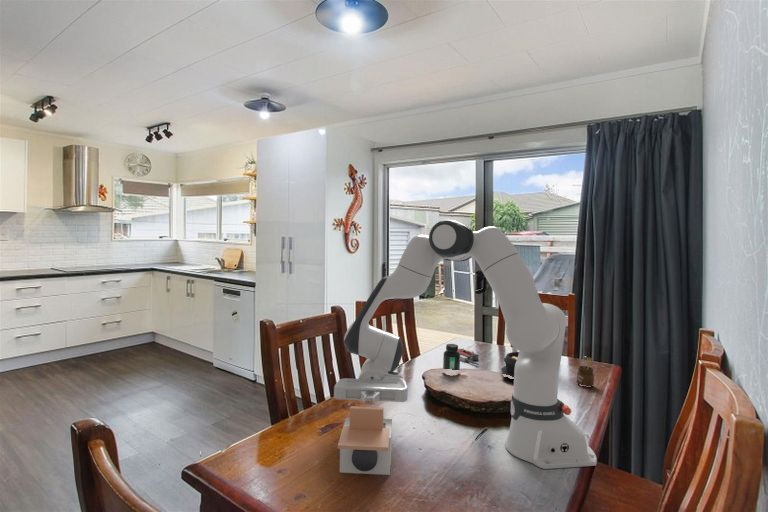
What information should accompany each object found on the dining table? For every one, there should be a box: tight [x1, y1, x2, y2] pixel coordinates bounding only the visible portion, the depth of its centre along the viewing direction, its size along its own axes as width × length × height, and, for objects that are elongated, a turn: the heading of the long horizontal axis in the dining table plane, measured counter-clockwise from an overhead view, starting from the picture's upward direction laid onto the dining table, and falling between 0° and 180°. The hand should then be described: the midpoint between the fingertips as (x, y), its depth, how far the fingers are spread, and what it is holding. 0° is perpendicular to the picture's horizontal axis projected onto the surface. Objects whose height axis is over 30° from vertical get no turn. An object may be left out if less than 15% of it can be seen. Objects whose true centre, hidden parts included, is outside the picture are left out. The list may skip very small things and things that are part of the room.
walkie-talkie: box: [458, 348, 480, 366], centre depth 192 cm, size 9×4×20 cm
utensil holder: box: [576, 356, 595, 386], centre depth 161 cm, size 6×6×12 cm
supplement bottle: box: [442, 343, 461, 370], centre depth 172 cm, size 7×7×12 cm
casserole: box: [501, 351, 519, 377], centre depth 171 cm, size 25×19×8 cm
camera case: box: [339, 416, 393, 476], centre depth 103 cm, size 12×12×9 cm
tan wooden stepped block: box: [337, 405, 390, 451], centre depth 96 cm, size 11×9×6 cm
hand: (369, 401), depth 107 cm, fingers closed
